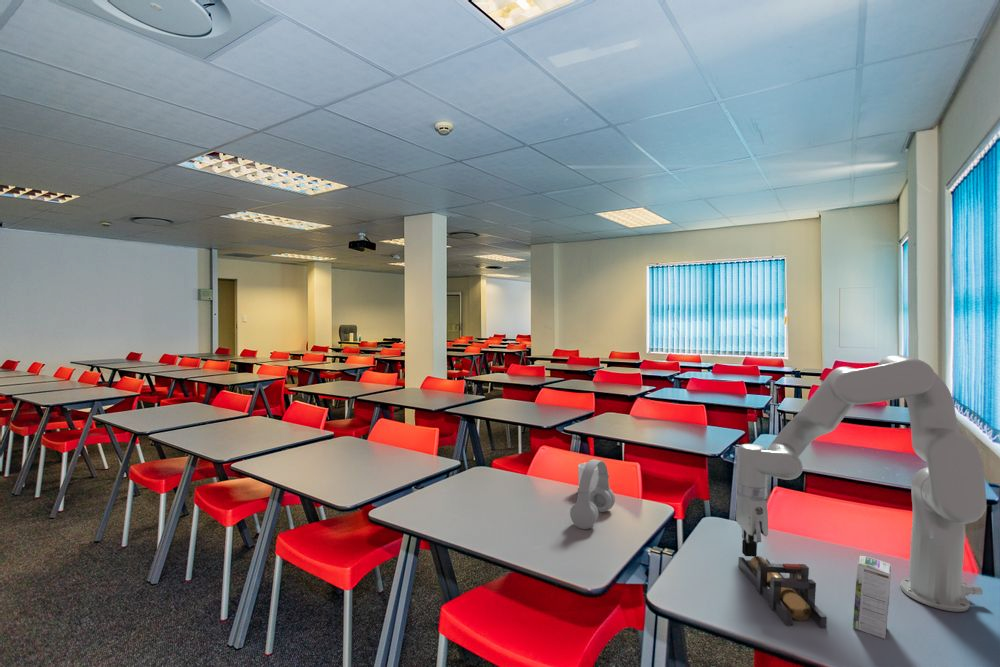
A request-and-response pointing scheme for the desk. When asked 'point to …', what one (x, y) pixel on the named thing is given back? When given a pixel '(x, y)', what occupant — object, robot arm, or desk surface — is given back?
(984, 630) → the desk surface
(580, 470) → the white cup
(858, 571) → the syrup box
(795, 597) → the tan cylindrical rod
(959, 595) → the robot arm
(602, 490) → the headphones
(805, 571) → the collar rig
